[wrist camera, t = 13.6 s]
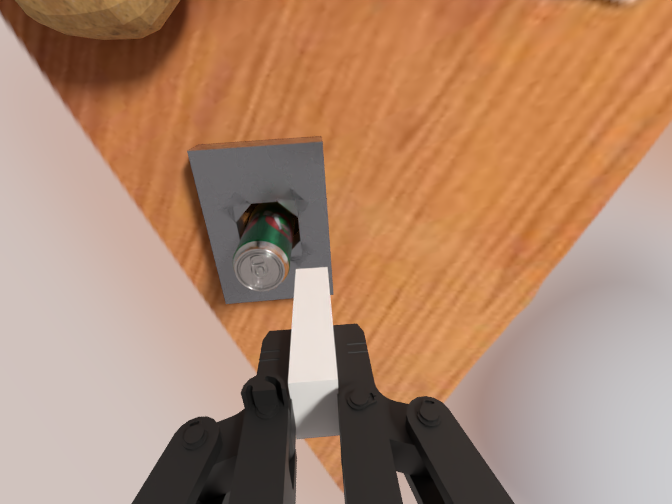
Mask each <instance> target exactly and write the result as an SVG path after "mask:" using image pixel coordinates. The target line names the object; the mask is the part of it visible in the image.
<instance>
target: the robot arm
mask: <svg viewBox="0 0 672 504" xmlns="http://www.w3.org/2000/svg"><path fill="white" fill-rule="evenodd" d="M241 395H242V399H243V403H244V407H245V409H243V410H242V411H241V412H239V413H238V414H236V415H234V416H232V417H230V418H227V419H225V420H222V421H219V422H216V421H215V420H214V419H212V418H209V417H197V418H194V419H192V420H189V421H188V422H186V423H185V424H183V425H182V426H181V427H180V428H179V429H178V431H177V432H176V433H175V434H174V436H173V437H172V439H171V441H170V442H169V444H168V446H167V447H166V449H165V450H164V452H163V454H162V455H161V457H160V458H159V460H158V462H157V463H156V465H155V467H154V468H153V470H152V471H151V473H150V475H149V477H148V478H147V480H146V481H145V483H144V484H143V486H142V488H141V489H140V491H139V493H138V494H137V496H136V497H135V499H134V501H133V502H132V504H295V499H296V498H295V497H296V464H297V463H296V462H297V456H296V449H295V440H296V438H297V439H304V438H315V437H326V436H337V435H340V444H341V463H342V472H343V484H344V497H345V504H403V502H402V497H401V493H400V488H399V483H398V478H397V474H396V471H398V472H402V473H404V475H405V477H406V479H407V481H408V484H409V486H410V488H411V490H412V492H413V494H414V496H415V499H416V501H417V503H418V504H514V502H513V501H512V499H511V498H510V497H509V495H508V494H507V492H506V491H505V489H504V488H503V487H502V485H501V483H500V482H499V481H498V479H497V478H496V477H495V475H494V473H493V472H492V471H491V469H490V468H489V466H488V465H487V464H486V462H485V460H484V459H483V458H482V456H481V455H480V453H479V452H478V451H477V449H476V448H475V446H474V445H473V443H472V442H471V440H470V439H469V438H468V436H467V435H466V433H465V432H464V430H463V429H462V428H461V426H460V425H459V423H458V422H457V420H456V419H455V417H454V416H453V415H452V413H451V412H450V410H449V409H448V408H447V407H446V406H445V405H444V404H443V403H442V402H441V401H439V400H437V399H435V398H432V397H427V396H424V397H417V398H416V399H414V400H412V401H411V402H410V403H409V404H406V403H401V402H396V401H393V400H390V399H388V398H386V397H385V396H383V395H382V394H381V393H380V392H379V391H378V389H377V388H376V386H375V383H374V378H373V374H372V369H371V364H370V359H369V354H368V350H367V345H366V340H365V335H364V332H363V330H362V329H361V328H360V327H359V326H358V324H345V325H333V321H332V310H331V299H330V289H329V278H328V267H319V268H305V269H296V273H295V287H294V302H293V317H292V329H290V330H277V331H269V332H268V334H267V335H266V337H265V338H264V339H263V342H262V347H261V353H260V359H259V365H258V370H257V375H256V376H255V377H253V378H251V379H249V381H248V382H247V383H246V384H245V385H244V386H243V389H242V391H241Z"/></svg>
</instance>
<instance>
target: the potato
mask: <svg viewBox="0 0 672 504" xmlns="http://www.w3.org/2000/svg"><path fill="white" fill-rule="evenodd" d="M15 1H16V2H17V3H18V5H19V6H20V7H21V8H22V9H23V11H24V12H25V13H26V14H27V15H28V16H29V17H31V18H32V19H34V20H35V21H36V22H38V23H40V24H43V25H45V26H47V27H49V28H52V29H54V30H56V31H59V32H61V33H63V34H65V35H71V36H78V37H86V38H93V39H100V40H115V39H139V38H144V37H146V36H148V35H150V34H152V33H154V32H156V31H158V30H160V29H161V28H162V26H163V25H164V23H165V22H166V20H167V19H168V17H169V16H170V15H171V13H172V12H173V10H174V9H175V7H176V6H177V4H178V3H179V1H180V0H15Z"/></svg>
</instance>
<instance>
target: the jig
mask: <svg viewBox="0 0 672 504" xmlns="http://www.w3.org/2000/svg"><path fill="white" fill-rule="evenodd" d="M187 152H188V156H189V160H190V164H191V168H192V172H193V176H194V180H195V184H196V188H197V192H198V196H199V200H200V204H201V207H202V211H203V215H204V219H205V223H206V227H207V231H208V235H209V239H210V243H211V247H212V251H213V255H214V259H215V263H216V266H217V270H218V274H219V278H220V282H221V286H222V290H223V294H224V298H225V302H226V304H231V303H243V302H254V301H266V300H277V299H289V298H294V287H295V273H296V269H305V268H319V267H328V278H329V289H330V295H333V282H332V268H331V254H330V240H329V226H328V212H327V198H326V184H325V170H324V156H323V142H322V137H321V136H317V137H303V138H288V139H274V140H259V141H245V142H230V143H216V144H201V145H197V146H195V147H193V148H191V149H190V150H188V151H187ZM266 202H279V203H280V204H281V205H283V206H284V207H285V208H286V209H288V210H289V211H290V212H292V213H293V214H294V215H296V216H297V217H298V222H299V231H298V232H297V233H296V234H295V236H294V237H293V242H292V252H291V261H290V269H289V273H288V275H287V277H286V278H285V280H284V281H283V282H281V283H280V284H279V285H278V286H277V287H276V288H274V289H272V290H269V291H263V292H259V291H253V290H250V289H248V288H246V287H245V286H243V285H242V284H241V283H240V282H239V281H238V279H237V277H236V275H235V271H234V269H233V256H234V253H235V251H236V249H237V246H238V244H239V242H240V240H241V237H242V235H243V233H244V230H245V223H244V218H243V213H244V212H245V211H246V209H247V208H248V207H249V206H250V205H251V204H252V203H266Z"/></svg>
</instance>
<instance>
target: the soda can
mask: <svg viewBox="0 0 672 504" xmlns="http://www.w3.org/2000/svg"><path fill="white" fill-rule="evenodd" d="M293 233H294V216H293V214H292V212H290V211H289V210H288V209H286V208H285V207H284V206H283V205H281V204H280V203H279V202H266V203H261V204H259V205H258V206H257V207H256V208H255V209H254V210H253V212H252V214H251V216H250V219H249V221H248V223H247V226H246V228H245V230H244V233H243V235H242V237H241V240H240V242H239V244H238V246H237V249H236V251H235V253H234V256H233V269H234V271H235V275H236V277H237V279H238V281H239V282H240V283H241V284H242V285H243V286H245V287H246V288H248V289H250V290H253V291H259V292H263V291H269V290H272V289H274V288H276V287H277V286H278V285H279V284H280V283H281V282H283V281H284V280H285V278H286V277H287V275H288V273H289V269H290V261H291V252H292V242H293Z"/></svg>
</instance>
